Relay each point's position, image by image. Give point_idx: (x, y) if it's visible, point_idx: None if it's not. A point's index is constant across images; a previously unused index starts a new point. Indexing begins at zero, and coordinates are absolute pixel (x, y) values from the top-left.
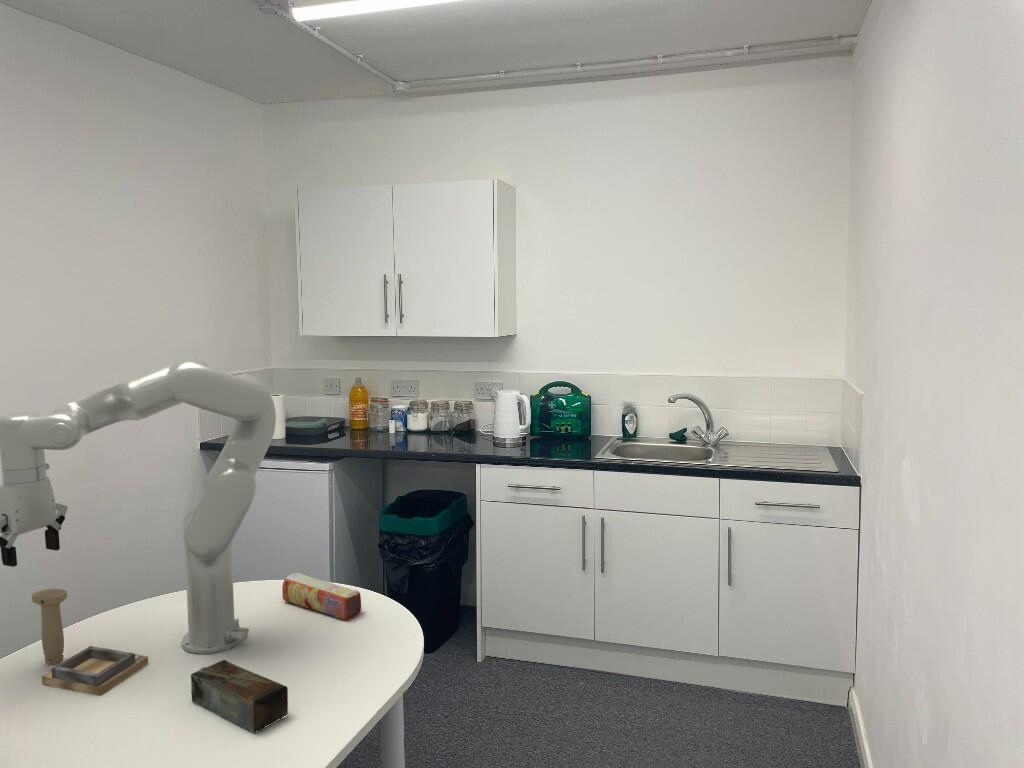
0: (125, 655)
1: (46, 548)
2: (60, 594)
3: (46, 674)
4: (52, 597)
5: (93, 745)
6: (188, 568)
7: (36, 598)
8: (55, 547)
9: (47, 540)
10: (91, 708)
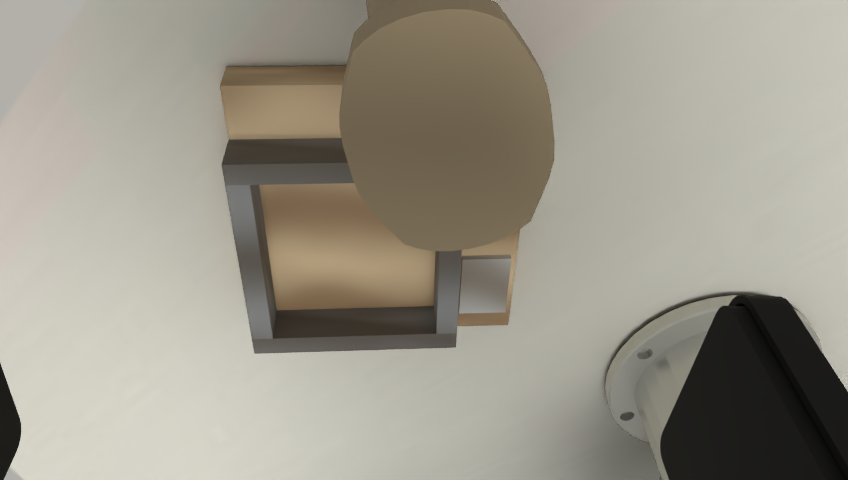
0: (436, 324)
1: (719, 309)
2: (457, 227)
3: (240, 95)
4: (387, 221)
5: (59, 444)
6: None
7: (341, 109)
8: (676, 467)
9: (766, 451)
10: (190, 332)
